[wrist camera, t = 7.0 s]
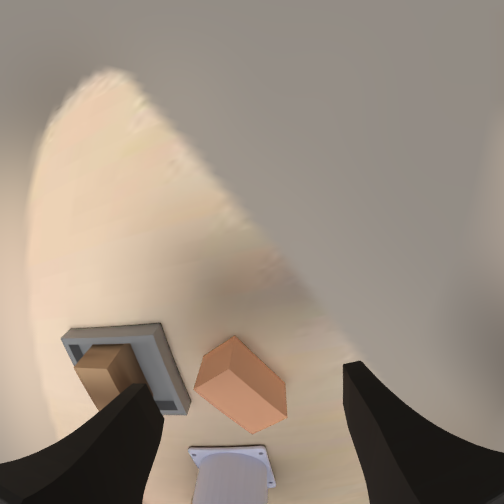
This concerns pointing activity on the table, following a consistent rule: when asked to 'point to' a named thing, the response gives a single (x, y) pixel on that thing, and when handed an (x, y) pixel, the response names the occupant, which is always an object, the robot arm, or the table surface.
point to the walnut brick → (108, 371)
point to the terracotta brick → (242, 386)
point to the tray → (139, 359)
